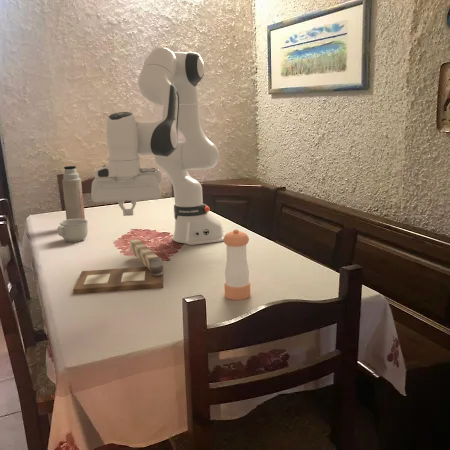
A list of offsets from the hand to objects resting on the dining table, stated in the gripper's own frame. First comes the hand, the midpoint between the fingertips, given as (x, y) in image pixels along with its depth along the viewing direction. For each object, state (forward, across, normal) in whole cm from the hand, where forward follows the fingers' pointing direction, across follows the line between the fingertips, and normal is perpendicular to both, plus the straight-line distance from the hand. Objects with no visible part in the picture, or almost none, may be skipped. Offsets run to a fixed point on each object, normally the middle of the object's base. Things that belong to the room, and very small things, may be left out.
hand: (128, 215), depth 144 cm
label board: (+21, +4, -1) cm, 21 cm away
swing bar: (+19, -3, -12) cm, 23 cm away
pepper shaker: (+21, -30, +17) cm, 41 cm away
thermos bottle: (+21, +30, -75) cm, 84 cm away
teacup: (+21, +28, -53) cm, 64 cm away
